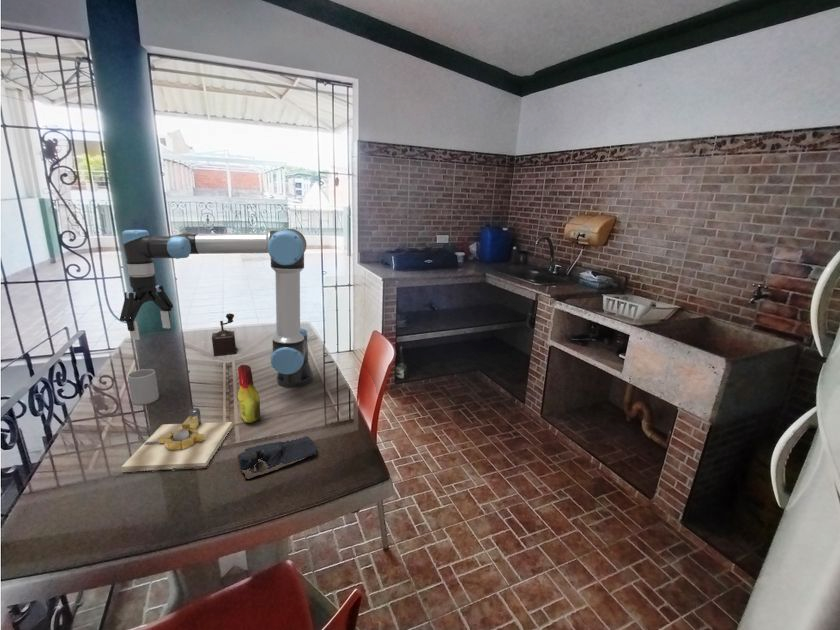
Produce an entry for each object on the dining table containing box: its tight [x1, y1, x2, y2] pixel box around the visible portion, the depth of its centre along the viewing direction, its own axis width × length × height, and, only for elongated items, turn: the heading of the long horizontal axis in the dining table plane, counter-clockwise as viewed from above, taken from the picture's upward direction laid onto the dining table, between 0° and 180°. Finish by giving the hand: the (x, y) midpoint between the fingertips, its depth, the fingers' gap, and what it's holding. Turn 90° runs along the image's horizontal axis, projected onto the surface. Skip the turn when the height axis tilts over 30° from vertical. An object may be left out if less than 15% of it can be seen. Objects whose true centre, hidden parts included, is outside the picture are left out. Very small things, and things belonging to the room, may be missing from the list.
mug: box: [127, 368, 160, 406], centre depth 149 cm, size 12×8×11 cm
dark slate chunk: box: [237, 435, 318, 473], centre depth 117 cm, size 15×22×5 cm
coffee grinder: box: [211, 313, 238, 357], centre depth 199 cm, size 16×11×18 cm
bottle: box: [237, 364, 261, 424], centre depth 136 cm, size 12×6×20 cm, turn 34°
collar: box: [158, 407, 204, 450], centre depth 122 cm, size 12×16×5 cm
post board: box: [121, 421, 234, 473], centre depth 119 cm, size 22×22×5 cm
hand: (151, 333), depth 141 cm, fingers open, 13 cm apart
